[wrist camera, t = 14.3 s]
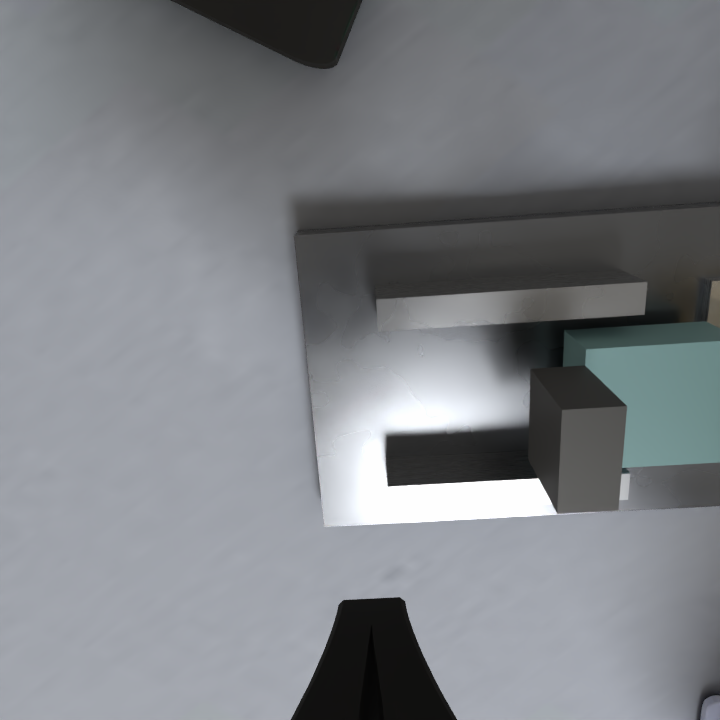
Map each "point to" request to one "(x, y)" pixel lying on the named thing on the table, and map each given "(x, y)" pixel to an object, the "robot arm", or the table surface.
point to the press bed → (482, 351)
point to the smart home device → (287, 25)
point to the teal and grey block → (623, 409)
